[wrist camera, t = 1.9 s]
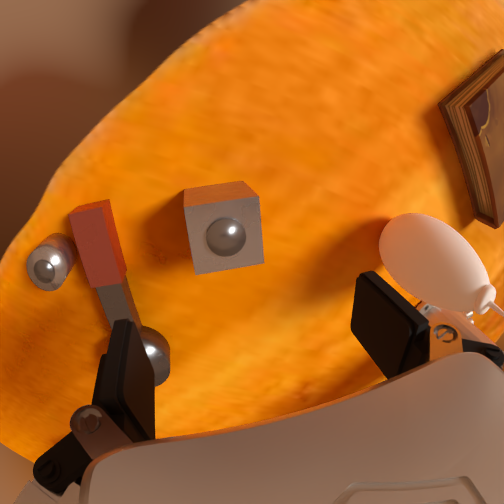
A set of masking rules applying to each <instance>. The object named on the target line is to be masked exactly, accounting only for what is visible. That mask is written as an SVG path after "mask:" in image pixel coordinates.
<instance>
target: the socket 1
mask: <svg viewBox="0 0 504 504" xmlns="http://www.w3.org/2000/svg"><path fill="white" fill-rule="evenodd" d="M76 261H77V249H76V246H75V244H74V243H73V241H72V240H71V239H70V238H69V237H68V236H66V235H64V234H61V233H53V234H51V235H49V236H48V237H47V238H46V239H45V240H44V241H43V242H42V243H41V244H40V245H39V246H38V247H37V248H36V249H35V250H34V251H33V252H32V253H31V254H30V255H29V257H28V259H27V272H28V275H29V277H30V279H31V280H32V282H33V283H34V284H35V285H36V286H38V287H39V288H41V289H43V290H46V291H54V290H57V289H58V288H59V287H60V286H61V285H62V284H63V282H64V280H65V279H66V277H67V276H68V274H69V273H70V271H71V270H72V268H73V267H74V265H75V263H76Z"/></svg>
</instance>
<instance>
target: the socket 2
mask: <svg viewBox="0 0 504 504" xmlns="http://www.w3.org/2000/svg"><path fill="white" fill-rule="evenodd" d="M184 213H185V219H186V225H187V231H188V237H189V242H190V248H191V253H192V259H193V264H194V269H195V274H196V275H199V274H205V273H211V272H217V271H222V270H228V269H234V268H240V267H245V266H251V265H257V264H263V263H264V255H263V242H262V229H261V216H260V203H259V196H258V195H257V194H256V193H255V192H254V191H253V190H252V189H251V188H250V187H249V186H248V185H247V184H246V183H245V182H244V181H237V182H230V183H223V184H216V185H209V186H202V187H196V188H190V189H184Z"/></svg>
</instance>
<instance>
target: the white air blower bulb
mask: <svg viewBox="0 0 504 504" xmlns="http://www.w3.org/2000/svg"><path fill="white" fill-rule="evenodd" d="M379 252H380V256H381V259H382V261H383V264H384V266H385V268H386V269H387V271H388V272H389V274H390V275H391V277H392V278H393V279H394V280H395V281H396V282H397V283H398V284H399V285H400V286H401V287H402V288H404V289H405V290H406V291H407V292H409V293H410V294H411V295H413V296H414V297H416V298H418V299H420V300H422V301H424V302H426V303H428V304H430V305H433V306H435V307H438V308H442V309H446V310H450V311H457V312H470V311H475V312H476V313H478V314H484V313H485V312H487V311H488V309H489V308H492V309H493V310H494V311H496V312H497V313H499V314H500V315H501V316H503V317H504V311H503V310H502V309H501V308H499V307H498V306H497V305H496V304H495V303H494V299H495V296H496V290H495V288H494V287H493V286H492V285H490V282H489V278H488V275H487V272H486V270H485V267H484V266H483V264H482V262H481V260H480V258H479V257H478V255H477V254H476V252H475V251H474V249H473V248H472V247H471V245H470V244H469V243H468V242H467V241H466V240H465V239H464V238H463V237H462V236H461V235H460V234H459V233H458V232H457V231H455V230H454V229H453V228H452V227H450V226H449V225H447V224H446V223H444V222H442V221H440V220H438V219H436V218H433V217H431V216H428V215H425V214H418V213H408V214H402V215H399V216H396V217H394V218H393V219H392V220H390V221H389V222H388V223H387V225H386V226H385V228H384V229H383V231H382V233H381V236H380V239H379Z"/></svg>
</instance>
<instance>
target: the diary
mask: <svg viewBox="0 0 504 504" xmlns="http://www.w3.org/2000/svg"><path fill="white" fill-rule="evenodd" d="M438 106H439V108H440V111H441V113H442V115H443V118H444V120H445V123H446V125H447V128H448V130H449V133H450V135H451V138H452V141H453V144H454V146H455V149H456V152H457V155H458V158H459V161H460V164H461V167H462V171H463V174H464V177H465V181H466V184H467V188H468V192H469V195H470V199H471V203H472V208H473V212H474V216H475V218H476V219H477V220H478V221H480V222H482V223H484V224H486V225H488V226H490V227H492V228H494V229H497V228H499V227H500V226H501V224H502V223H503V222H504V49H502V50H500V51H499V52H498V53H497V54H496V55H495V56H493V57H492V58H491V59H490V60H489V61H488V62H486V63H485V64H484V65H483V66H482V67H481V68H479V69H478V70H477V71H476V72H475V73H473V74H472V75H471V76H470V77H469V78H468V79H466V80H465V81H464V82H463V83H462V84H461V85H459V86H458V87H457V88H456V89H455V90H454V91H452V92H451V93H450V94H449V95H448V96H446V97H445V98H444V99H443V100H442V101H441V102H439V103H438Z"/></svg>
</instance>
